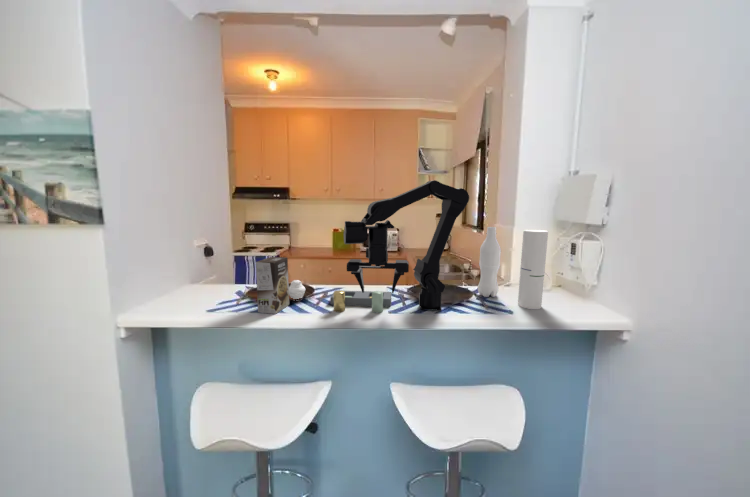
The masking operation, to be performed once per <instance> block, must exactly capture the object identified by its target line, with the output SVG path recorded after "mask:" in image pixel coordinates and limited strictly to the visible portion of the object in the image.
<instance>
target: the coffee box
mask: <svg viewBox="0 0 750 497" xmlns="http://www.w3.org/2000/svg"><path fill="white" fill-rule="evenodd" d="M288 259H289V258H288V257H287V256H286V257H284V256H281V257H280V256H275V257H274V256H269V257H266V258H263V259H261V260H257V261H255V271H256V272H255V274H256V278H255V279H256V293H257V294H256V296H257V312H258V313H260V314H272V315H277V314H278V313H280V312H281V311H282V310H284V309H285V308H287V307H288V306H289V305H290V295H289V286H290V285H289V265H288V262H289V261H288Z"/></svg>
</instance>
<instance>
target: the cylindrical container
mask: <svg viewBox="0 0 750 497" xmlns="http://www.w3.org/2000/svg"><path fill="white" fill-rule="evenodd" d="M548 239H549V231H548V230H543V229H523V233H522V243H521V244H522V246H521V256H520V257H521V258H520V268H519V280H518V282H519V283H518V295H517V306H519V307H520V308H524V309H529V310H539V309H541V308H542V305H543V304H542V303H543V293H544V283H545V282H544V280H545V271H546V259H547V250H548V249H547V248H548Z"/></svg>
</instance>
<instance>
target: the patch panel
mask: <svg viewBox="0 0 750 497" xmlns="http://www.w3.org/2000/svg"><path fill="white" fill-rule="evenodd" d="M334 291H337V290H334ZM344 291H345V306H361V307H362V306H366V307H372V292H373V291H369V290H368V291H367V290H364V293H362V290H344ZM382 292H383V307H391V305H392V291H382ZM329 298H330V299H329V300H330V305H332V306H334V292H333V293H332V294H331V296H330V297H329Z"/></svg>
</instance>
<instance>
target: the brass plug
mask: <svg viewBox="0 0 750 497" xmlns="http://www.w3.org/2000/svg"><path fill="white" fill-rule="evenodd" d="M345 291H346V290H342V289H341V290H340V289H339V290H337V291H335V290H333V293H334V305H333V312H335V313H344V312H345V311H346V305H345Z"/></svg>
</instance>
